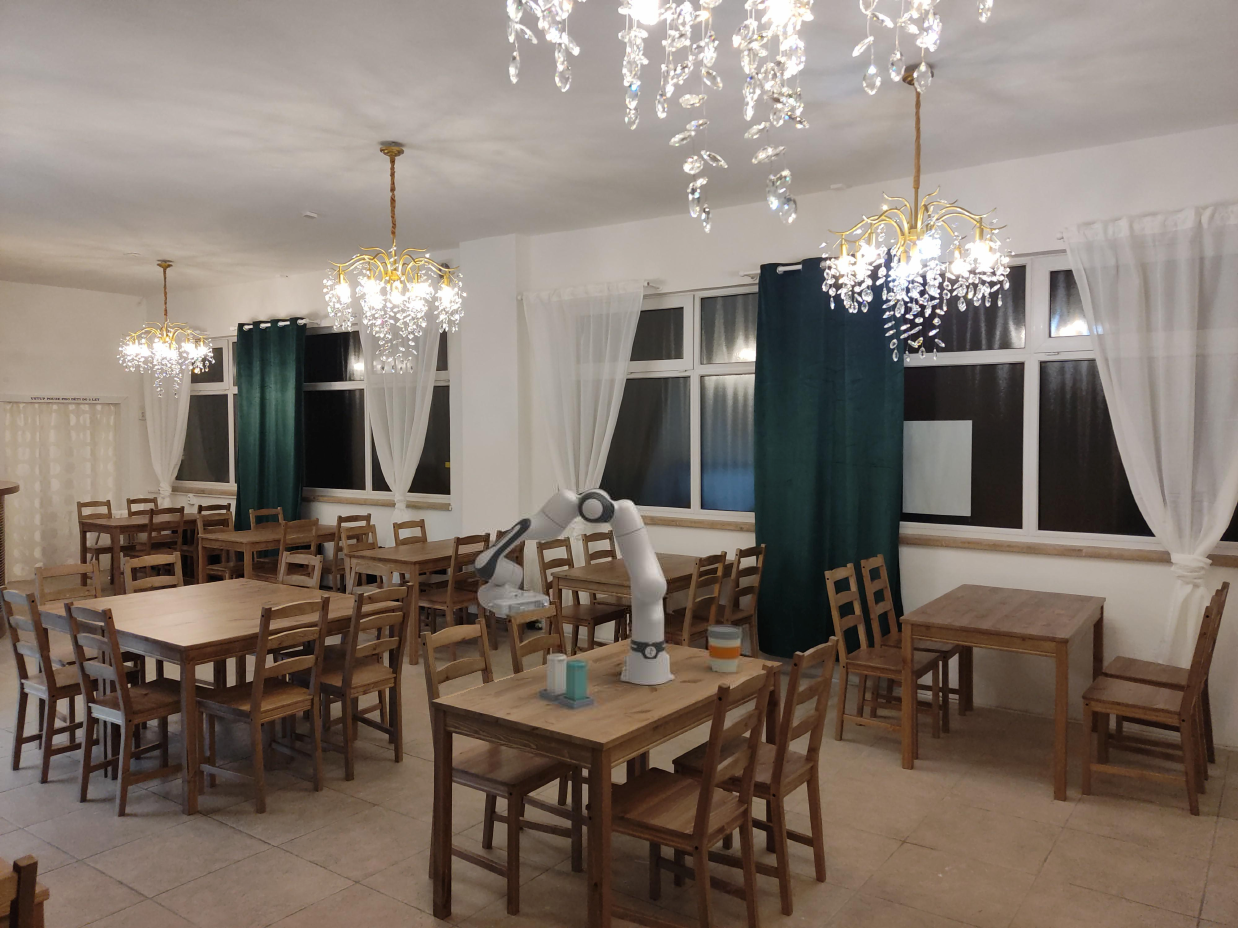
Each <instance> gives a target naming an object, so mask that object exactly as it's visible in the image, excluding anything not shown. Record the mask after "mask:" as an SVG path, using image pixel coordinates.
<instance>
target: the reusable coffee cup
mask: <svg viewBox="0 0 1238 928" xmlns="http://www.w3.org/2000/svg"><path fill="white" fill-rule="evenodd" d="M742 632H743V630H742V628H741V627H740V626H736V625H731V624H715V625H710V626H708V628H707V640H708V643H707V647H708V648H707V649H708V656H709V657H710V662H711V663H710V664H711V669H712V671H713V672H716V671H717V672H716V673H722V672H725V673H726V674H727V673H728V674H729V673H735V672H737V670H738V662H739V658H740V655H741V649H742V643H741V642H742V641H741V639H742V638H743V633H742ZM725 673H724V674H725Z"/></svg>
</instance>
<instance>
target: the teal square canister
mask: <svg viewBox="0 0 1238 928" xmlns="http://www.w3.org/2000/svg"><path fill="white" fill-rule="evenodd" d="M587 666H588V662H587V661H585V660H583V659H578V658H577V659H570V660H567V662H566V699H568V700H571V701H574V702H576V701H580V700H584V699H587V696H588V695H587V694H588V693H587V692H588V691H587V688H588V687H587V684H588V683H587V680H588V675H587V674H588V669H587V668H588V667H587Z"/></svg>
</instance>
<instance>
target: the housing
mask: <svg viewBox="0 0 1238 928" xmlns="http://www.w3.org/2000/svg"><path fill="white" fill-rule="evenodd" d="M538 692H539V693H538V695H537V694H536V695H534V697H536V698H538V699H540V700H544V701H546V702H548V703H550V704H555V705H556V706H559V707H562V708H565V709H567V710H570V711H573V712H575V711H580V710H583V709H587V708H591V707H595V706H599V705H600V704H598V703H597V702H596V703H595V701H594V700H595V698H594V697H592V696H589V695H587V699H584V700H580V701H576V702H574V701H571V700H568V699H566V692H563V693H559V694H555V695H554V694H552V693H549V692H547V687H546V688H543V689H539V691H538Z"/></svg>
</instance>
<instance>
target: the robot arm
mask: <svg viewBox="0 0 1238 928" xmlns="http://www.w3.org/2000/svg"><path fill="white" fill-rule="evenodd" d="M579 517H581V519H582V520H584V521H585V522H586V523H591V524H609V526H610V528H611V530H612V533H613V536H614V539H615V542H616V544H617V547H618V549H619V552H620V555H621V559H622V561H623V564H624V566H625V569H626V571H627V573H628V576H629V578H630V600H631V602H630V603H631V614H632V615H631V621H632V623H631V638H630V646H629V648H630V650H629V652H628V655H627V656H626V657H623V665H625V666H624V667H622V671H621V675H620V681H621V682H628V683H632V684H636V685H645V686H647V685H649V686H650V685H661V684H665V683H667V682H669V681H672V680H673V681H674V680H675V675H674V674H672V673H671V668H670V655H669V654H668V653H667V652H666V651H665V650H666V639H665V614H664V604H663V603H664V601H663V598H664V596H666V593H667V589H668V584H667V581H666V577H665V575H664V571H663V569H662V567H661V565H660V562H659V560H658V557H657V555H656V552H655V551H654V547H653V546H652V542H651V540H650V537H649V534H648V532H647V531H648V530H647V528H646V525H645V523H644V521H643V518H642V516H641V514H640V512H639V510H638V508H637V507H636V505H635V504H634V502H633V501H632V500H631V499H620V500H612V498H611V495H610V494H609V493H608V492H607V491H606V490H605V489H602V488H598V487H597V488H596V487H595V488H590V489H587V490H586V491H582V492H580V493H578V494H576V493H575V492H574V491H572V490H570V489H567V488H566V489H565V488H563V489H560V490H559V491H557V492H556V493H554V495H553V496H552V497H550V498H549V499H548V500H547V501H546V502H545V503H544V505H543V506H542V507H541V508H540V509H539V510H538V511H537V512H536V513H534V514H533V515H531V516H529V517H525V518H522V519H520V520H519V521H517V522H516V523H515V524H513V525H512V526H511V528H509V529H508V530H507V531H506V532H505V533H504V534H503V535H501V537H500V538H498V539H497V540H496V541H495V542H494V543H493V544H492V545H491V546H489V547H488V548H486V549H485V550H483V551H482V552H481V553H480V554H478V556H477V557H476V558H475V560H474V565H473V568H474V572H475V574H476V576H477V577H478V578H479V579H481V580H485V581H487V582H488V583H485V584H484V585H481V586H480V587H479V588H478V591H477V600H478V602H479V604H480V605H481V606H483V608H485V609H487V610H489V611H492V612H493V613H495V614H497V615H506V616H507V615H508V616H515V615H518V614H520V613H525V612H527V611H528V612H529V611H533V610H540V609H542V610H546V609H548V608H549V607H550V597H549V596H548V595H546V594H543V593H539V592H534V590H532V589H521V588H522V586H523V583H524V578H525V574H524V569H523V567H522V566H520V565H519V564H517V563H516V562H513V561H511V560H509V559H507V558H506V557H505V556H506V555H507V554H508V553H509V552H510V551H511V550H512V549H513V548H515V546H517V545H518V544H519V543H521V542H523V541H538V542H551V541H555V540H556V539H558V538H559V537H560V536H561V535H562V534H564V532H565V531H566V529H567V528H568V526H569V525H570V524H571V523H572V522H573V521H575V519H576V518H579Z"/></svg>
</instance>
